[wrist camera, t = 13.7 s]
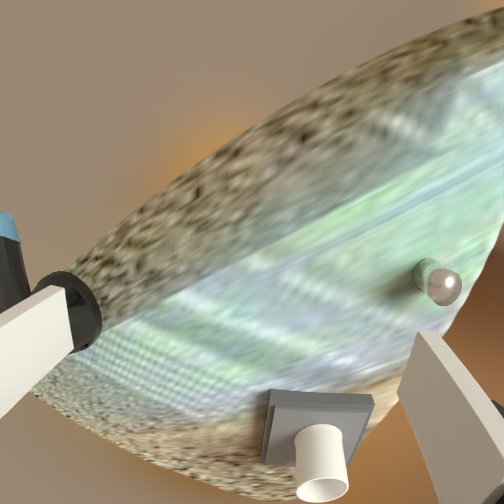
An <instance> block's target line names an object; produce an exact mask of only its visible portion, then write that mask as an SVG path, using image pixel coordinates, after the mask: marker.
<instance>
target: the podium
mask: <svg viewBox="0 0 504 504" xmlns="http://www.w3.org/2000/svg"><path fill="white" fill-rule="evenodd" d="M374 405H375V404H374V401H373V398H372V395H371V394H335V393H314V392H299V391H287V390H276V389H271V391H270V398H269V404H268V410H267V417H266V423H265V429H264V435H263V442H262V447H261V454H260V462H259V463H262V464H265V465H275V466H289V467H296V446H295V443H294V440H295V437H296V435H297V434H298V432H299V431H301V430H302V429H304V428H306V427H308V426H311V425H314V424H330V425H333V426H335V427H337V428H338V429H339V430H340V431H341V433H342V445H343V452H344V458H345V465H346V467H348V466H349V464H350V462H351V459H352V457H353V455H354V453H355V451H356V449H357V446H358V444H359V442H360V440H361V437H362V435H363V433H364V430H365V428H366V425H367V423H368V421H369V418H370V416H371V413H372V411H373V408H374Z"/></svg>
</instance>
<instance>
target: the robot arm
mask: <svg viewBox="0 0 504 504" xmlns="http://www.w3.org/2000/svg"><path fill="white" fill-rule="evenodd" d="M20 244H21V242H20V239H19V238H18V234H17V229H16V225H15V220H14V218H13V217H12V216H11V215H10V214H9V213H6V212H0V419H1V418H2V416H4V415H5V414H6V413H7V412H8V411H9V410H10V409H11V408H12V407H13V406H14V405H15V404H16V403H17V402H18V401H19V400H20V399H21V398H22V397H23V396H24V395H25V394H26V393H27V392H28V391H29V390H30V389H31V388H33V387H34V386H35V384H36V383H38V382H39V381H40V380H41V379H42V378H43V377H44V376H45V375H46V374H47V373H48V372H49V371H50V370H51V369H52V368H53V367H55V366H56V365H57V364H58V363H59V362H60V361H61V360H62V359H63V358H64V357H65V356H66V355H69V354H72V353H76V352H79V351H82V350H85V349H86V348H88V347H89V346H91V345H92V344H93V343H94V342H95V341H96V340H97V338H98V337H99V335H100V332H101V327H102V318H101V312H100V309H99V306H98V303H97V301H96V299H95V297H94V295H93V294H92V292H91V291H90V289H89V288H88V287H87V286H86V284H85V283H84V282H82V281H81V280H80V279H79V278H78V277H76V276H74V275H73V274H70V273H68V272H64V271H57V272H54V273H51V274H49V275H47V276H45V277H44V278H43V279H41V280H40V282H39V283H38V284H37V286H36V287H35V289H34V290H33V291H32V292H31V291H30V287H29V283H28V279H27V275H26V271H25V266H24V262H23V257H22V252H21V247H20ZM397 395H398V397H399V399H400V401H401V404H402V406H403V408H404V411H405V413H406V416H407V418H408V421H409V423H410V425H411V428H412V430H413V433H414V435H415V437H416V440H417V443H418V445H419V448H420V450H421V453H422V455H423V458H424V461H425V463H426V466H427V469H428V471H429V474H430V477H431V480H432V482H433V485H434V488H435V491H436V494H437V497H438V500H439V502H440V504H504V408H503V407H502V406H501V405H499V404H498V403H497V402H495V401H494V400H490V399H489V398H488V397H487V395H486V394H485V392H484V391H483V390H482V389H481V387H480V386H479V384H478V383H477V382H476V380H475V379H474V378H473V377H472V375H471V374H470V373H469V371H468V370H467V369H466V368H465V366H464V365H463V364H462V363H461V361H460V360H459V359H458V357H457V356H456V355H455V354H454V353H453V351H452V350H451V349H450V348H449V346H448V345H447V344H446V343H445V342H444V340H443V339H442V338H441V337H440V336H439V334H438V333H437V332H436V331H418V332H417V335H416V339H415V342H414V345H413V348H412V351H411V354H410V357H409V360H408V363H407V366H406V369H405V372H404V374H403V377H402V380H401V382H400V385H399V388H398V390H397Z"/></svg>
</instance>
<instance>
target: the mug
mask: <svg viewBox="0 0 504 504" xmlns="http://www.w3.org/2000/svg"><path fill="white" fill-rule="evenodd" d="M294 443H295V446H296V495H297V497H298V498H300V499H302V500H304V501H307V502H314V503H319V502H327V501H331V500H334V499H337V498H339V497H341V496H342V495H343V494H345V493H346V492H347V490H348V478H347V472H346V465H345V458H344V452H343V445H342V433H341V431H340V430H339V429H338V428H337V427H335V426H333V425H330V424H314V425H311V426H308V427H306V428H304V429H302V430H301V431H299V432H298V434H297V435H296V437H295V440H294Z"/></svg>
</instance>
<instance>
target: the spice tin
mask: <svg viewBox="0 0 504 504" xmlns="http://www.w3.org/2000/svg"><path fill="white" fill-rule="evenodd" d="M414 281H415V283H416V285H417V286H418V287H419V288H420V289H421V290H422V291H423V292H424V293H426V294H427V295H428V296H429V297H430V298H431V299H432V300H433V301H434V302H435V303H436V304H437V305H439V306H448V305H450V304H452V303H453V302H454V301H455V300H456V299H457V298H458V296H459V295H460V292H461V288H462V281H461V278H460V276H459V275H458V274H457V273H455V272H454V271H452V270H451V269H449V268H448V267H446V266H445V265H443V264H442V263H440V262H439V261H437V260H436V259H434V258H425V259H423V260H421V261H420V262H419V263H418V264H417V266H416V268H415V270H414Z"/></svg>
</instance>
